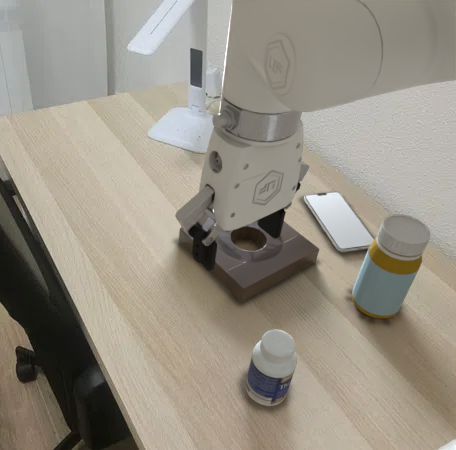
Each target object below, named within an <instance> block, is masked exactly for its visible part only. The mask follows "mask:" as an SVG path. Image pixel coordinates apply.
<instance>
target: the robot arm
mask: <svg viewBox="0 0 456 450" xmlns="http://www.w3.org/2000/svg"><path fill="white" fill-rule="evenodd" d="M227 33H228V34H227V39H226V50H225V58H224V67H223V76H222V85H221V92H220V93H221V94H220V101H219V111H218V113H217V114H214V115H213V116H212V125H213V128H212V132H211V135H210V137H209V141H208V144H207V147H206V151H205V156H204V160H203V164H202V169H201V175H200V181H199V188H198V193H197V194H195V195H194V196H193V197H192V198H191V199H190V200H188V201H187V202H186V203H185V204H184V205H183V206H182V207H180V208H179V209H178V210H177V211H176V212H175V219H176V221H178V223H179V225H180V228H181V227H182V228H183V229H184V230H185V231H186V232H187V233H188V234H189V235H190V236H191V237H193V248H192V254H191V256H192V258H193V260H194V261H195V262H197V263H198V264H200V265H201V266H202V267H203V268H204V269H205V270H206V271H207V272H209V271H211V270H213V269H214V266H215V259H216V252H217V242H216V241H215V238H216V237H217V235H218V234H219V233H220V231H221V230H222V229H223V230H225V231H231V230H235V229H238V228H241V227H243V226H245V225H248V224H250V223H252V222H254V221H257V220H258V226H259V227H260V228H262V229H263V230H264V231H265V232H266V233H268V234H269V235H270V236H271V237H273V238H275V239H276V238H278V237H280V234H281V230H282V226H283V222H285V217H286V213H287V211H286V210H288V209H289V208H290V207H291V206H292V204H293V200H294V198H295V195H296V193H298V191H299V190H300V188H301V186H302V184H301V182H302V181H303V180H304V178H305V176H306V175H307V173H308V171H309V169H310V165H309V164H308V163H305V162H304V161H303V153H304V136H305V135H304V134H305V133H304V123H303V120H302V119H301V118H302V113H314V112H318V111H319V112H320V111H324V110H327V109H331V108H335V107H339V106H342V105H343V106H344V105H347V104H351V103H355V102H357V101H360V100H364V99H368V98H372V97H375V96H376V97H377V96H380V95H384V94H389V93H394V92H398V91H402V90H407V89H411V88H415V87H421V86H426V85H432V84H438V83H446V82H451V81H456V0H231V6H230V17H229V25H228V32H227ZM209 217H210V218H212V219H213V220H214V223H213V224H212V225H211V227H210V228H209V230H206V229H205V228H204V227H203V225H204V223H205V222H206V220H207V219H208V218H209ZM437 450H456V438H454V439H453V440H450V441H449V442H448V443H446V444H444V445H443V446H441V447H439V448H437Z"/></svg>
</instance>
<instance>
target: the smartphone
mask: <svg viewBox="0 0 456 450" xmlns="http://www.w3.org/2000/svg"><path fill="white" fill-rule="evenodd" d="M303 201H304V202H305V204H306V206H307V207H308V208H309V210H310V211H311V213H312V214H313V216H314V217H315V219H316V220H317V222H318V224H319V225H320V227H321V228H322V229H323V231H324V233H325V234H326V235H327V237H328V238H329V240H330V241H331V243H332V245H333V246H334V247H335V249H336V251H338V252H341V253H346V252H347V253H348V252H354V251H362V250H368V249H369V247H370V244H371V243H372V241H373V240H375V239H376V237H374V236H373V235H372V233H371V232H370V230H369V229H368V227H367V226H366V225H365V223H364V222H363V221H362V220H361V218H360V217H359V216H358V214H357V213H356V211H355V209H353V208H352V206H351V205H350V204H349V202H348V201H347V200H346V198H345V197H344V196H343V194H342V193H341V192H339V191H327V192H319V193H318V192H317V193H311V194H310V193H309V194H305V195H304V198H303Z"/></svg>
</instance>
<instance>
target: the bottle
mask: <svg viewBox="0 0 456 450" xmlns="http://www.w3.org/2000/svg"><path fill="white" fill-rule="evenodd" d="M430 239H431V231H430V228H429V227H428V226H427V225H426V224H425V223H424V222H423V221H422V220H420V219H418V218H417V217H414V216H411V215H408V214H404V213H394V214H390V215H388V216H386V217H385V218H384V219H383V221H382V222H381V224H380V227H379V229H378V233H377V235H376V237H375V240H373V241H372V243H371V244H370V247H369V249H367V252H366V254H365V257H364V259H363V263H362V264H361V267H360V270H359V272H358V274H357V277H356V280H355V282H354V285H353V288H352V291H351V301H352V303H353V304H354V305H355V307H356V308H357V309H358V310H359V311H360V312H361V313H363V314H364V315H366V316H367V317H370V318H374V319H389V318H392V317H395V315H397V314H398V312H399V310H400V309H401V307H402V305H403V303H404V300H405V299H406V297H407V295H408V292H409V291H410V289H411V286H412V284H413V282H414V280H415V278H416V276H417V274H418V272H419V270H420V268H421V265H422V263H423V253H424V251H425V249H426V247H427V246H428V244H429V241H430Z"/></svg>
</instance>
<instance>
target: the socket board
mask: <svg viewBox="0 0 456 450" xmlns="http://www.w3.org/2000/svg"><path fill="white" fill-rule="evenodd" d="M213 223H214V220H213V219H212V218H210V217H209V218H208V219H207V220H206V222H205V223H204V225H203V227H204V228H205V229H206V230H209V228H210V227H211V225H212V224H213ZM243 240H244V241H250V242H253V243H255V244H257V245H258V246H259V247H260V249H258V250H245V249H243V248H240V247H238V246H237V245H236V244H234V243H235V242H238V241H243ZM215 241H216V242H217V252H216V259H215V266H214V269H213V270H211V271H208V272H209V273H210V274H211V275H212V276H214V278H215V279H217V281H218V282H219V283H220V284H221V285H223V286H224V287H225V289H226V290H228V291H229V292H230V294H232V295H233V297H235V298H236V299H237V300H238V301H239V302H240V303H243V302H245V301H247V300H248V299H250V298H252V297H255V296H256V295H258V294H259V293H261V292H263V291H265V290H267V289H269V288H270V287H273V286H274V285H275V284H276V285H277V284H278V283H280V282H282V281H284V280H286V279H288V278H289V277H291V276H293V275H294V274H296V273H299V272H300V271H302V270H304V269H306V268H308V267H309V266H311V265H313V264H315V263H316V262H317V259H318V256H319V252H320V247H318V246H316V245H315V244H314V243H313V242H311V241H310V239H307V238H306V237H305V236H304V235H302V234H301V233H300V232H299V231H297V230H296V229H295V228H294V227H292V226H291V225H290V224H289V223H287V222H286V221H284V222H283V226H282V230H281V234H280V237H278V238H276V239H275V238H273V237H271V236H270V235H269V234H268V233H266V232H265V231H264V230H263V229H262V228H260V227H259V226H258V220H257V221H254V222H252V223H250V224H248V225H245V226H243V227H241V228H238V229H235V230H231V231H225V230H223V229H222V230H221V231H220V233H219V234H218V235H217V237H216V238H215ZM178 242H179V243H180V244H181V246H183V247H184V248H185V250H187V251H188V252H189V253H190V254H191V255H192V248H193V237H191V236H190V235H189V234H188V233H187V232H186V231H185V230H184V229H183V228H182V227H181V226H180V227H179V232H178Z"/></svg>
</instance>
